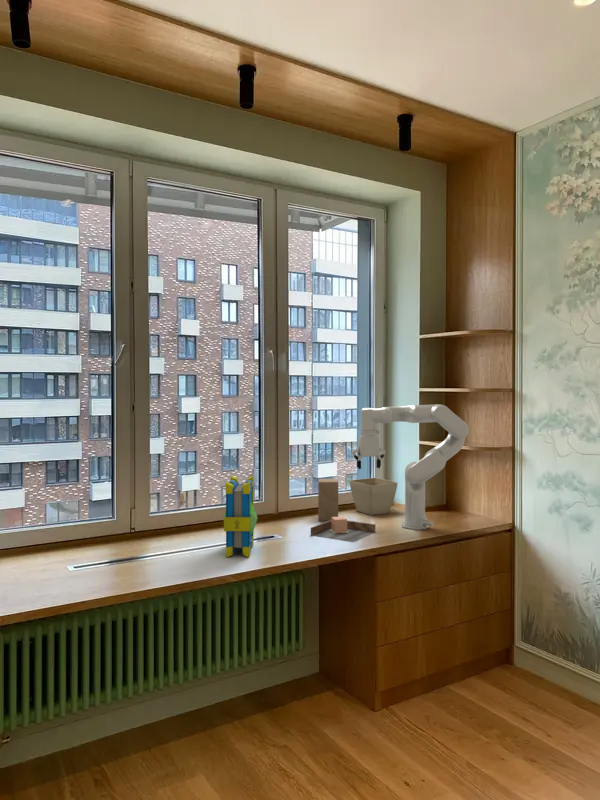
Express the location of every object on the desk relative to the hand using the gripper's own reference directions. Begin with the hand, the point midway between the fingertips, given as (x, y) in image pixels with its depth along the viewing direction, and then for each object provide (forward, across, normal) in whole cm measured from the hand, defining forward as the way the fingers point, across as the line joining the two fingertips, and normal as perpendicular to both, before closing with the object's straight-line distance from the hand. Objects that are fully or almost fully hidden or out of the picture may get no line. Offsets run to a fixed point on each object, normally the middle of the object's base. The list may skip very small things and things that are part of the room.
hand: (368, 468), depth 300 cm
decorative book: (+28, +67, +31) cm, 79 cm away
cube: (+28, +18, +9) cm, 34 cm away
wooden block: (+28, +16, -18) cm, 37 cm away
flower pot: (+28, -13, -30) cm, 43 cm away
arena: (+28, +17, +14) cm, 36 cm away
